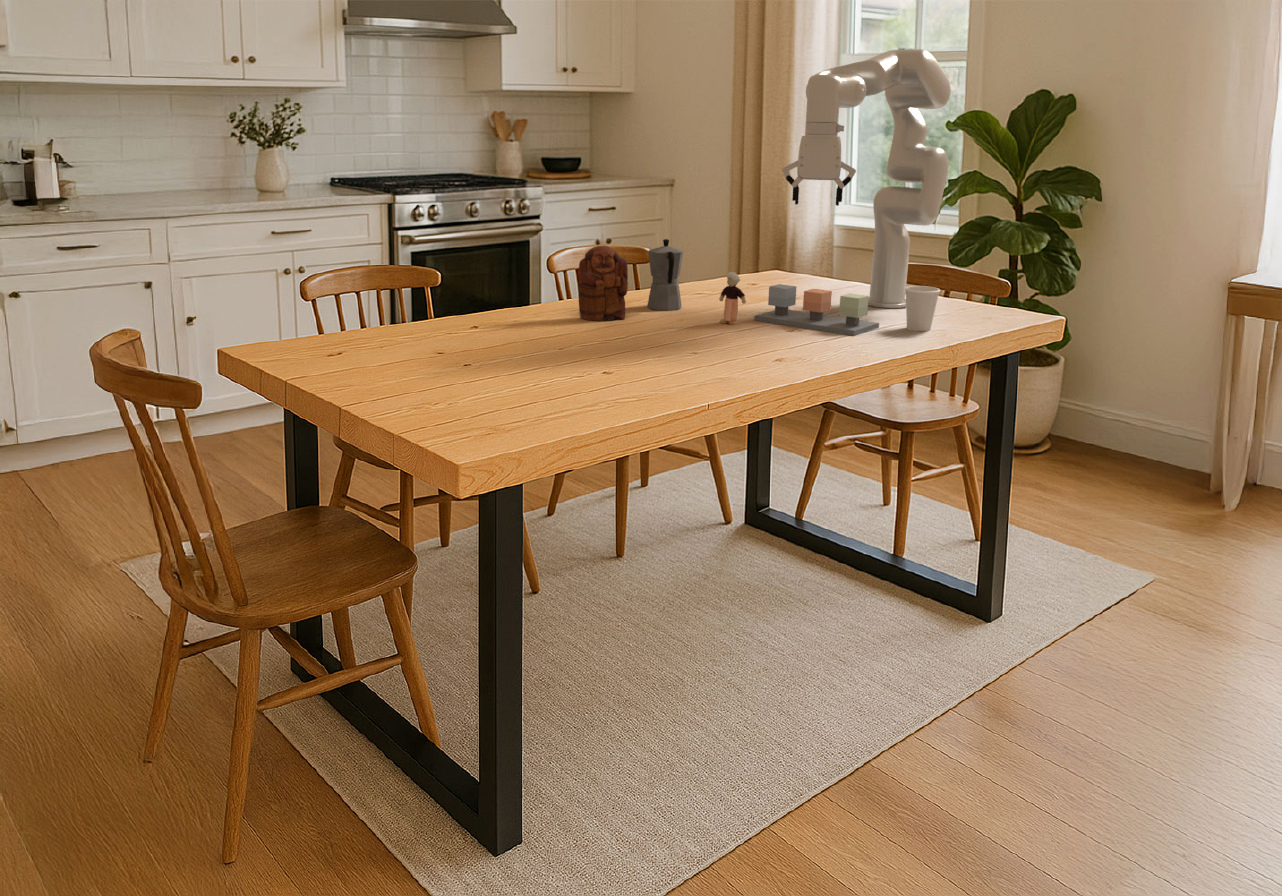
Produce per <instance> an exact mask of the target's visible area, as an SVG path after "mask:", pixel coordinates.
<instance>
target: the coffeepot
mask: <svg viewBox="0 0 1282 896" xmlns="http://www.w3.org/2000/svg"><path fill="white" fill-rule="evenodd" d="M662 241H663V246H659V247H654V248H650V249H649V250H647V252H648V261H649V262H648V263H649V268H650V270H649V271H650V276H651V277H652V282H651V285H650V291H649V295H648V302H647V307H646V308H648V309H650V310H654V311H663V312H665V311H667V312H669V311H671V312H673V311H678V310H681V308H682V307H683V305H682V300H681V292H680V284H679V277H680V275H681V268H682V263H683V257H684V250H683V249H679V248H676V247H672V246H669V244H670V239H667V238H666V239H663V240H662Z"/></svg>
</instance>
